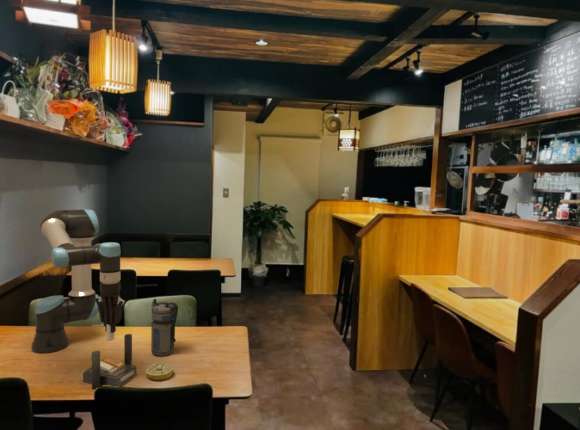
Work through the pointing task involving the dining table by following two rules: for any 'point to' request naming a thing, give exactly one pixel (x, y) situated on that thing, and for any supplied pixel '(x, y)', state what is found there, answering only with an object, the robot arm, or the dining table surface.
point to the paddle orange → (114, 363)
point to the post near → (95, 369)
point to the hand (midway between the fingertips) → (110, 339)
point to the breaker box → (112, 375)
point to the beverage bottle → (163, 327)
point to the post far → (128, 349)
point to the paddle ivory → (107, 367)
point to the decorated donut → (159, 371)
